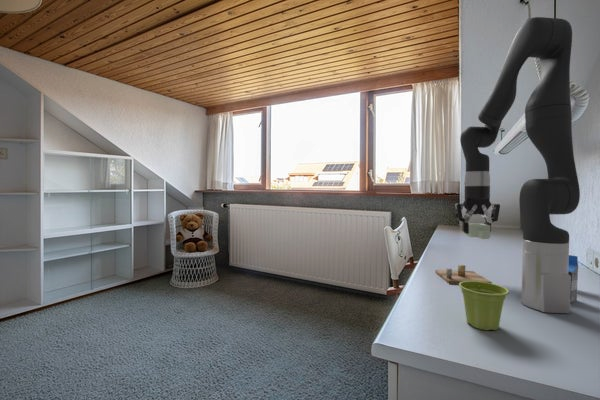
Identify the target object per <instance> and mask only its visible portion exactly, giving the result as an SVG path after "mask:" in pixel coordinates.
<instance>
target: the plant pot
mask: <svg viewBox="0 0 600 400" xmlns="http://www.w3.org/2000/svg"><path fill="white" fill-rule="evenodd" d="M458 285H459V287H460V288H461V289H460V290H461V293H462V297H463V303H464V304H463V305H464V309H465V316H466V317H465V318H466V323H467V324H469V325H470V326H472V327H473V328H475V329H479V330H482V331H483V330H484V331H489V330H493V331H497V330H498V329H499V326H500V322H501V315H502V312H503V311H502V310H503V307H504V302H505V300H506V299H507V298H506V296H507V295H508V294H509V290H508V289H507V288H506V287H503V285H502V286H501V285H499V284H496V283H487V282H480V281H463V282H460V283H459V284H458Z"/></svg>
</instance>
